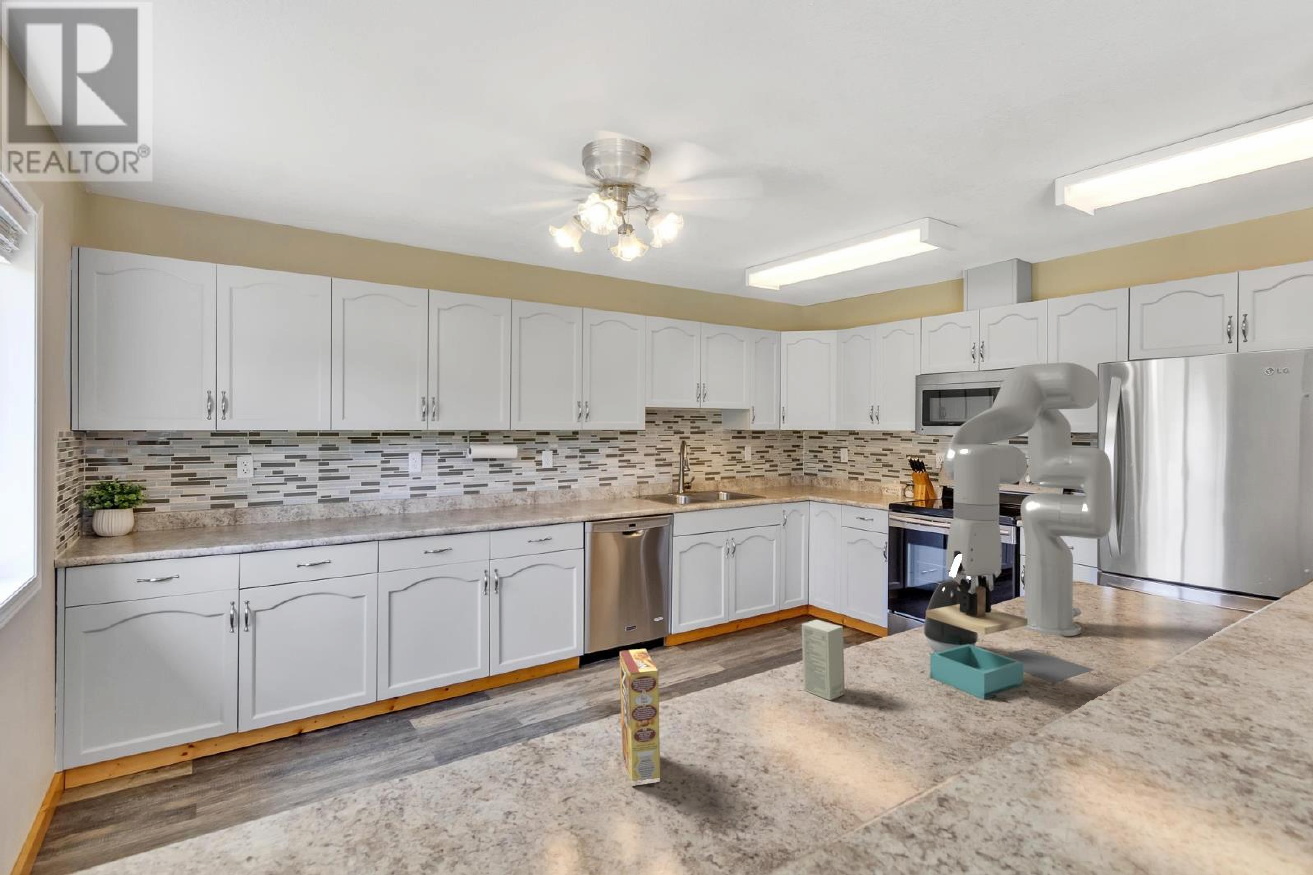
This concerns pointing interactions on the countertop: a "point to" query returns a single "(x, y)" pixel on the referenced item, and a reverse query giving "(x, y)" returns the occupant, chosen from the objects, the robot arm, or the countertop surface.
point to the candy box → (640, 714)
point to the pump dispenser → (944, 633)
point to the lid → (977, 617)
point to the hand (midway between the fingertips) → (975, 611)
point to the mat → (1047, 665)
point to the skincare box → (823, 659)
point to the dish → (976, 670)
